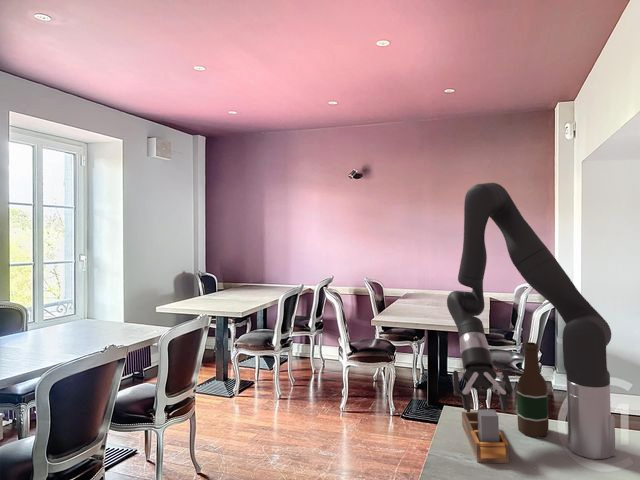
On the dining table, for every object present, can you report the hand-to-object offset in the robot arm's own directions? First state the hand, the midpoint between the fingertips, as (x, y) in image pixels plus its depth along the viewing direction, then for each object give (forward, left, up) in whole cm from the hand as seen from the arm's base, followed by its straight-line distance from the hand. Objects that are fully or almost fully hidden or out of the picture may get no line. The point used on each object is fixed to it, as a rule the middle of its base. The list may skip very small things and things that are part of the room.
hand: (486, 411), depth 115 cm
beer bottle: (-14, -11, -10) cm, 21 cm away
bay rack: (0, -4, -10) cm, 11 cm away
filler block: (0, +2, -9) cm, 9 cm away
